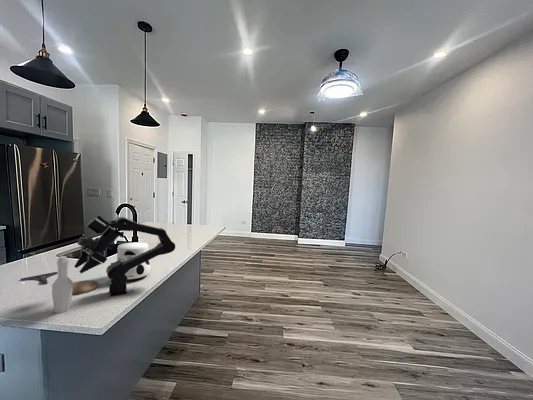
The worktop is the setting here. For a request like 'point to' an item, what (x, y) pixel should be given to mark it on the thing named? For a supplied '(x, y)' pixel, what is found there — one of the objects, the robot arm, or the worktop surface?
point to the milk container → (132, 251)
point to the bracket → (40, 277)
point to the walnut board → (84, 287)
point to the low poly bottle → (62, 287)
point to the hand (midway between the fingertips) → (77, 269)
